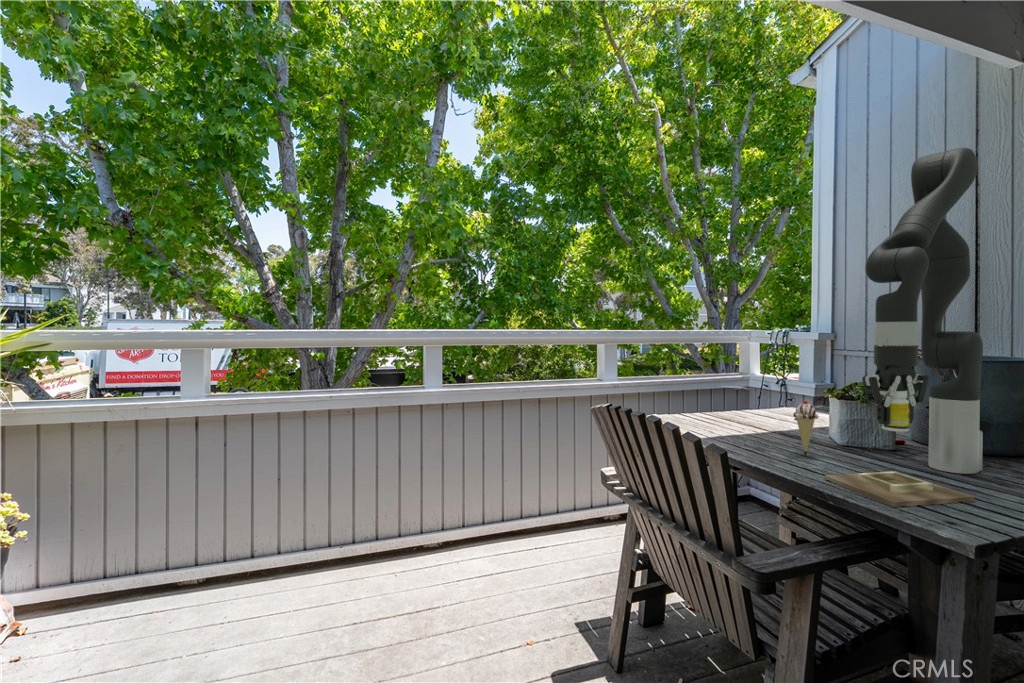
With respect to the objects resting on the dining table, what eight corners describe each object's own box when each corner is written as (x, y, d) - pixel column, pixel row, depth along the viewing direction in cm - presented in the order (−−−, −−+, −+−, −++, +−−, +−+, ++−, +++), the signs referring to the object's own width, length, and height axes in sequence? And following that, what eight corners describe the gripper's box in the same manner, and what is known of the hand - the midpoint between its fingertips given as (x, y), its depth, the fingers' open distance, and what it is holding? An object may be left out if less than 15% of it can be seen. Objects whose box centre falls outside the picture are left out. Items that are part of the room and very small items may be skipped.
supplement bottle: (914, 432, 105) (914, 391, 105) (888, 431, 106) (888, 391, 106) (901, 427, 110) (901, 389, 110) (876, 427, 111) (877, 388, 111)
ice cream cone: (822, 459, 134) (822, 402, 133) (800, 459, 134) (800, 402, 133) (809, 454, 139) (810, 399, 139) (788, 454, 139) (789, 399, 139)
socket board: (894, 475, 119) (894, 464, 119) (974, 501, 101) (974, 489, 101) (824, 479, 116) (824, 468, 116) (894, 507, 98) (894, 494, 98)
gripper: (909, 342, 112) (908, 419, 113) (851, 343, 110) (850, 421, 111) (942, 343, 105) (941, 425, 105) (880, 344, 103) (880, 428, 104)
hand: (895, 423), depth 108 cm, fingers closed on supplement bottle, 4 cm apart
